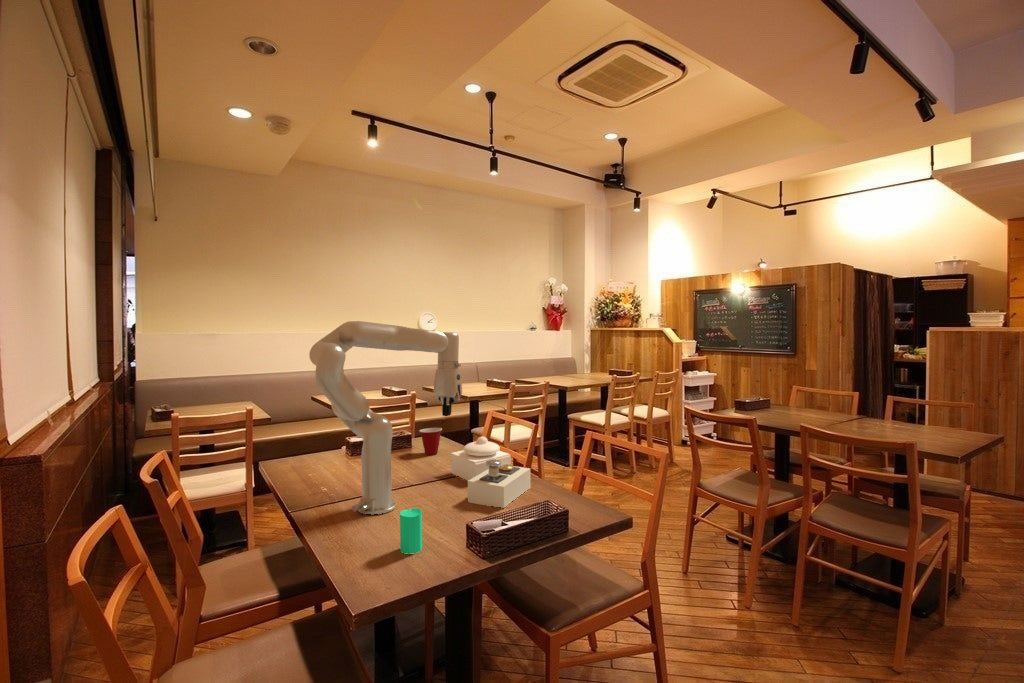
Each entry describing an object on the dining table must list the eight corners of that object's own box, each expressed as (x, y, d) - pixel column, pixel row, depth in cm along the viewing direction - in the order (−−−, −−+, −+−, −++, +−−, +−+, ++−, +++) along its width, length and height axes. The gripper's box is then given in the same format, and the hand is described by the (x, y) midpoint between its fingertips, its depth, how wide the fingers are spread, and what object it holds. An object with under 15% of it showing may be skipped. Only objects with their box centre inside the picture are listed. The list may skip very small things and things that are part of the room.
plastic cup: (435, 449, 236) (434, 425, 235) (446, 454, 228) (446, 429, 227) (415, 453, 229) (414, 428, 228) (426, 458, 221) (426, 432, 220)
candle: (423, 544, 135) (423, 502, 134) (420, 554, 129) (420, 510, 128) (402, 544, 135) (401, 502, 134) (398, 555, 129) (397, 511, 128)
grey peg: (496, 487, 165) (496, 464, 165) (483, 485, 167) (483, 462, 167) (503, 483, 170) (503, 460, 169) (490, 480, 172) (490, 458, 172)
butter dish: (476, 485, 184) (475, 444, 184) (450, 474, 198) (450, 436, 197) (511, 475, 195) (511, 437, 195) (484, 465, 209) (484, 429, 209)
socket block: (503, 508, 160) (503, 485, 160) (467, 502, 166) (467, 479, 166) (530, 488, 180) (530, 467, 180) (497, 483, 186) (497, 462, 186)
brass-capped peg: (509, 491, 174) (509, 469, 174) (497, 489, 176) (497, 467, 176) (516, 486, 179) (515, 465, 178) (503, 484, 181) (503, 463, 181)
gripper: (470, 366, 177) (469, 416, 177) (437, 364, 183) (436, 412, 184) (459, 367, 170) (457, 419, 170) (425, 365, 177) (424, 414, 177)
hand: (446, 415), depth 177 cm, fingers closed
